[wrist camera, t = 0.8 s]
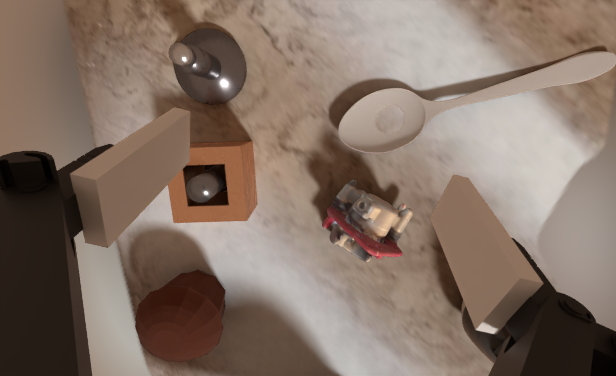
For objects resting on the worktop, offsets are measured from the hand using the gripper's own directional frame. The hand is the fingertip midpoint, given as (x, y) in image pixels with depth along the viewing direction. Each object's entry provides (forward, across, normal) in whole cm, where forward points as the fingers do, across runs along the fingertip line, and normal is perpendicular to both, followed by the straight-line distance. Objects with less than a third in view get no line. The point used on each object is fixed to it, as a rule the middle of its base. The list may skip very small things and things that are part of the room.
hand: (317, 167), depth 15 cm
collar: (+23, +11, +16) cm, 30 cm away
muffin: (+17, +12, +36) cm, 41 cm away
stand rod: (+23, +11, +16) cm, 30 cm away
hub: (+27, +15, +4) cm, 31 cm away
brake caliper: (+23, -9, +18) cm, 30 cm away
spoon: (+29, -18, 0) cm, 34 cm away
